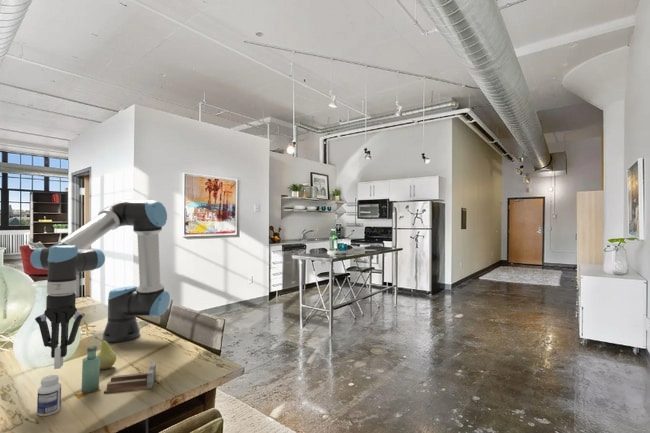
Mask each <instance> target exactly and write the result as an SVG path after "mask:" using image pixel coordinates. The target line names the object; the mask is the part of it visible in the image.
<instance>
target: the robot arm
mask: <svg viewBox="0 0 650 433" xmlns="http://www.w3.org/2000/svg"><path fill="white" fill-rule="evenodd" d="M167 220H168V213H167V210H166V207H165V205H164V204H163V203H162V202H160V201H157V200H152V199H151V200H150V199H148V200H145V199H144V200H143V199H142V200H141V199H140V200H137V199H136V200H134V199H127V200H126V199H125V200H122V201H118V202H115V203H113V204H111V205H109V206H107V207H105V208H104V209H102V210H100V211H99V212H98V214H97V215H96V217H94V218H93V219H91V220H89V221H88V222H86V223H85V224H83V225H81V226H80V227H79V228H77V229H76V230H74V231H73V232H71V233H69V234H68V235H66V236H64V237H63V238H62V239H60V240H59V241H57V242H55V243H53V245H51V246H49V247H45V246H43V247H37V248H36V249H34V250H33V251H32V252H31V254H30V257H29V258H30V259H29V261H30V264H31V266H33V267H34V268H35V269H40V270H41V269H42V270H46V271H47V278H46V279H47V281H46V294H48V295H47V296H46V302H45V303H46V304H45V311H43V313H42V314H41V315H39V316H38V315H37V317H35V318H34V320H35V322H36V323H37V324H38V326H39V327H38V328H39V330H40V331H39V332H40V334H41V339H42V342H43V346H44V347H48V348H50V349H51V350H50V358H51V359H52V358H53V359H54V362H53V370H58V369H61V368H62V367H63V366H64V357H66V356H67V355H68V354H67V353H68V346H70V345H72V344H74V342H75V340H76V336H77V334H78V331H79V327H80V324H81V321H82V320H83V318H84V317H85V316H86V315H85V313H84V312H82V313H81V312H79V311H78V309H77V307H76V301H77V300H76V298H77V296H76V293H75V292H76V291H77V275H78V274H77V273H83V272H87V271H94V270H98V269H100V268H101V267H103V266H104V264H105V261H106V256H105V253H104V252H103V251H102V250H101V249H99V248H88V249H87V247H89V246H91V244H93V243H94V242H96V241H97V240H99V239H101V237H103V236H104V235H105V234H107V233H108V232H110V231H113V230H116V229H118V228H119V227H124V226H132V228H133V232H134V233H136V235H137V253H138V254H137V255H138V256H137V257H138V275H139V276H138V278H139V279H138V280H139V285H138V286H136V285H130V286H123V287H118V288H113V289H112V290H110V291H109V292H108V298H107V323H106V325H105V327H104V330H103V333H102V338H101V340H103V341H106V342H107V343H121V342H126V341H132V340H134V339H137V338H138V337H140V334H141V332H140V331H141V329H140V327H139V324H138V321H137V316H138V317H151V318H153V317H161V316H162V315H164V314H165V312H166V311H167V310H168V307H169V305H170V297H171V296H170V293H169V292H168V290H165V286H164V284H162V283H161V268H160V267H161V266H160V238H159V234H160V232H161V231H162V230H163V228H162V227H164V226H165V225H166V224H167ZM73 317H74V318H73ZM72 318H73V319H74V321H73V323H72V327H71V331H70V334H69V325H70V320H71V319H72ZM47 319H48V320H49V322H50V327H51V332H50V329H49V323H48V321H47ZM59 335H60V336H59ZM59 341H60V342H59Z"/></svg>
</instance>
